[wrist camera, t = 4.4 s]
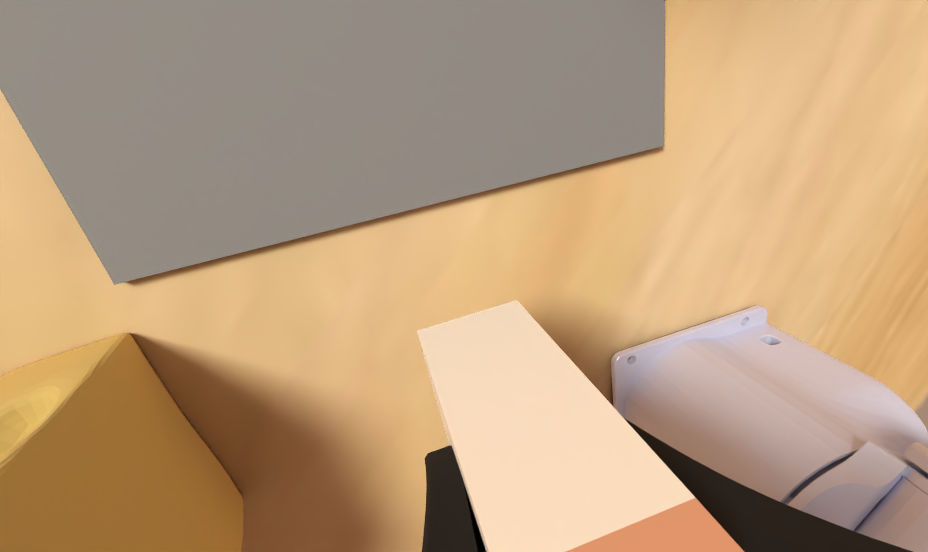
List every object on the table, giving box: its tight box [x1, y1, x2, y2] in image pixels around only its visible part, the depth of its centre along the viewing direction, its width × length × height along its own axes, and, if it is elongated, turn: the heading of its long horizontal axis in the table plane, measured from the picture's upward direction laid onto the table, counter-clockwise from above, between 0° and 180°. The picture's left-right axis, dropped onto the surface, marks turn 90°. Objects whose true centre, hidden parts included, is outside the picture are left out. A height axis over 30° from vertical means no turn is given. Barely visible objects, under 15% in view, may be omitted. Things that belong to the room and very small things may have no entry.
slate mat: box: [0, 0, 665, 285], centre depth 14 cm, size 22×14×1 cm, turn 101°
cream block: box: [417, 300, 744, 552], centre depth 10 cm, size 3×5×8 cm, turn 11°
